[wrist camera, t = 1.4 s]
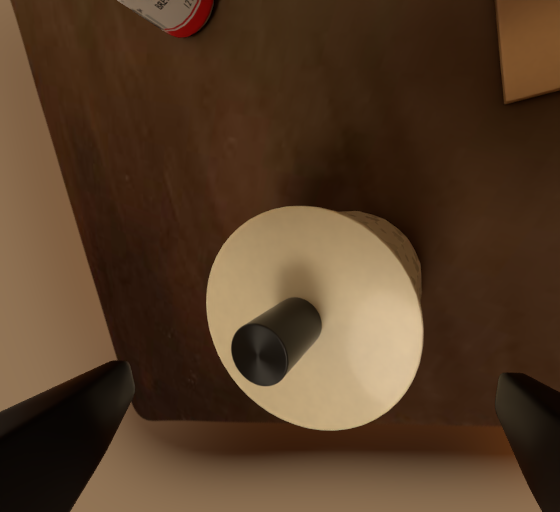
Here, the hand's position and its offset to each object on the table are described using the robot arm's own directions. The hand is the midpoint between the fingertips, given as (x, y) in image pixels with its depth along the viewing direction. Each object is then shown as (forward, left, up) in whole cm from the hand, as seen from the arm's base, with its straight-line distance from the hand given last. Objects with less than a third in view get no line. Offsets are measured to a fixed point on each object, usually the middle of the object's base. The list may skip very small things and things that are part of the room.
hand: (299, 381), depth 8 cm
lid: (+1, +3, -7) cm, 8 cm away
